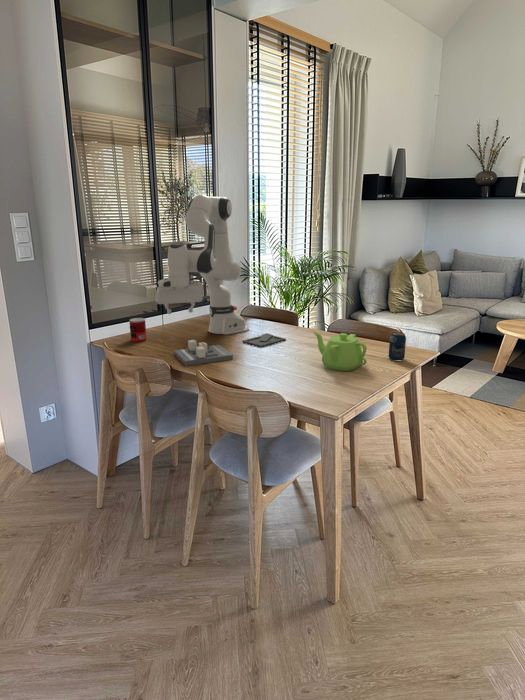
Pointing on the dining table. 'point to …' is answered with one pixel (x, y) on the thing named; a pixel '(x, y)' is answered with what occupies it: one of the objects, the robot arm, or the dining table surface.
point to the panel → (213, 355)
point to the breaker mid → (203, 346)
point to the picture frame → (264, 340)
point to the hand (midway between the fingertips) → (180, 312)
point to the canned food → (138, 329)
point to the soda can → (397, 346)
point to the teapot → (342, 352)
